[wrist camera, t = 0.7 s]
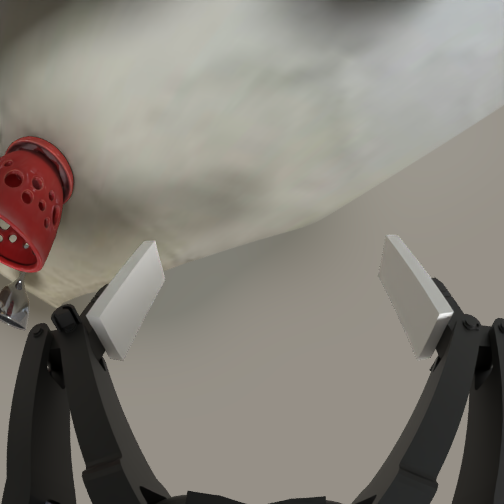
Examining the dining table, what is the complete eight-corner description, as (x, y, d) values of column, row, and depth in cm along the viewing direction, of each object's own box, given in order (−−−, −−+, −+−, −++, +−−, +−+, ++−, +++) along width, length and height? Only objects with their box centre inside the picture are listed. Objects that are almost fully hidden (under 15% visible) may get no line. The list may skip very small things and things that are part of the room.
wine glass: (10, 241, 37) (-15, 309, 29) (36, 245, 39) (12, 318, 30) (24, 262, 44) (5, 324, 35) (50, 266, 45) (32, 333, 37)
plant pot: (28, 105, 18) (-37, 181, 11) (99, 173, 28) (61, 258, 21) (-5, 163, 23) (-46, 232, 16) (53, 213, 32) (25, 283, 26)
